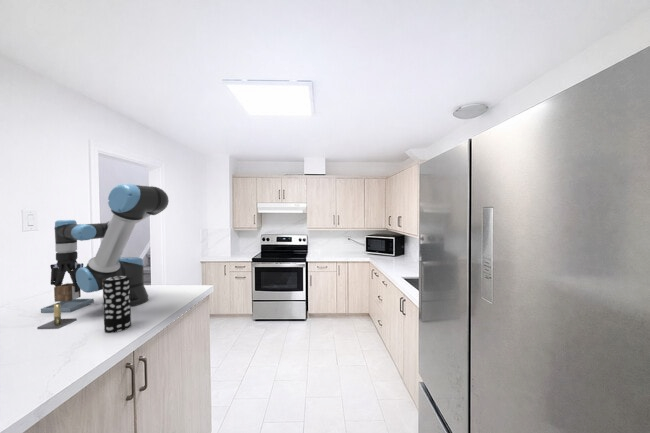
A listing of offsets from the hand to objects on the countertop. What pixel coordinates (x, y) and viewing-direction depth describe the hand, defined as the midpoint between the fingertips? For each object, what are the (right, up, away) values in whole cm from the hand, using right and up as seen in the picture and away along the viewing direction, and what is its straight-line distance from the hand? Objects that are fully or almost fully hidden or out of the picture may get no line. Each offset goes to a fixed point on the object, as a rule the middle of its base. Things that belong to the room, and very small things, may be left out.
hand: (68, 298), depth 127 cm
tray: (0, -4, 0) cm, 4 cm away
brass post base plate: (+15, -5, -20) cm, 25 cm away
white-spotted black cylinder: (+43, -4, -24) cm, 49 cm away
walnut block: (0, 0, 0) cm, 0 cm away
